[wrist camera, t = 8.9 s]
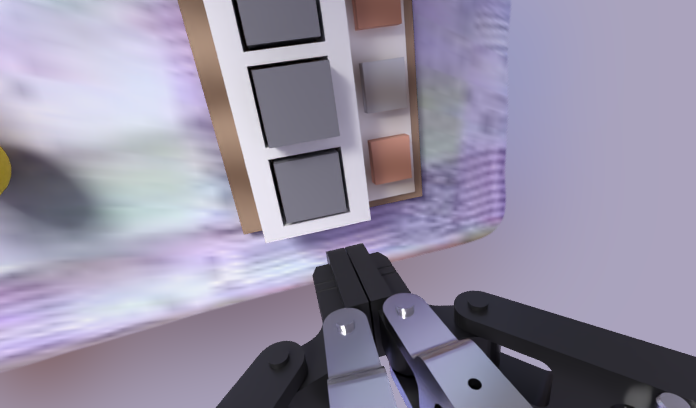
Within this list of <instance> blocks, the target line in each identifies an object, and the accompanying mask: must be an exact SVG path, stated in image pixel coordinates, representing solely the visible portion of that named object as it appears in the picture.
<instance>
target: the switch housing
mask: <svg viewBox="0 0 696 408" xmlns="http://www.w3.org/2000/svg"><path fill="white" fill-rule="evenodd" d="M203 2H204V6H205V10H206V14H207V18H208V21H209V25H210V29H211V33H212V37H213V41H214V45H215V49H216V52H217V56H218V60H219V64H220V68H221V72H222V76H223V79H224V83H225V87H226V91H227V95H228V99H229V103H230V107H231V110H232V114H233V118H234V122H235V126H236V130H237V134H238V138H239V141H240V145H241V149H242V153H243V157H244V161H245V165H246V169H247V172H248V176H249V180H250V184H251V188H252V192H253V196H254V200H255V203H256V207H257V211H258V215H259V219H260V223H261V227H262V231H263V234H264V238H265V242H266V243H269V242H274V241H278V240H283V239H287V238H292V237H296V236H301V235H305V234H310V233H315V232H319V231H324V230H328V229H333V228H337V227H342V226H346V225H351V224H355V223H360V222H364V221H369V220H371V217H370V208H369V200H368V192H367V183H366V175H365V166H364V158H363V150H362V141H361V133H360V124H359V116H358V108H357V99H356V91H355V83H354V74H353V66H352V57H351V49H350V41H349V32H348V24H347V15H346V7H345V0H316V6H317V13H318V20H319V27H320V34H321V36H320V37H319V38H318V39H316V43H309V44H301V45H294V46H286V47H279V48H271V49H263V50H256V51H248V52H246V49H245V45H244V41H243V36H242V32H241V27H240V23H239V19H238V14H237V10H236V5H235V1H234V0H203ZM314 59H319V61H323V60H329V62H330V69H331V76H332V83H333V90H334V97H335V104H336V111H337V118H338V125H339V132H340V136H337V137H331V138H326V139H320V140H314V141H309V142H303V143H297V144H292V145H286V146H281V147H275V148H269V146H268V141H267V138H266V137H265V133H264V129H263V124H262V120H261V115H260V111H259V107H258V102H257V98H256V93H255V89H254V85H253V80H252V76H251V71H250V68H256V67H264V66H271V65H278V64H285V63H292V62H300V61H307V60H314ZM330 148H334V149H335V150H336V151H337V152H338V155H339V162H340V168H341V175H342V182H343V189H344V195H345V202H346V209H347V211H345V212H340V213H335V214H331V215H326V216H321V217H317V218H312V219H307V220H303V221H298V222H293V223H289V224H287V221H286V217H285V213H284V208H283V207H281V203H280V199H279V194H278V190H277V186H276V181H275V177H274V172H273V168H272V164H271V159H275V158H280V157H286V156H291V155H297V154H302V153H308V152H313V151H319V150H324V149H330Z"/></svg>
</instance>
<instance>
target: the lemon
mask: <svg viewBox="0 0 696 408" xmlns="http://www.w3.org/2000/svg"><path fill="white" fill-rule="evenodd" d="M10 178H11V164H10V161H9V158H8V156H7V155H6V153H5V151H4V150H3V149H2V148H1V147H0V195H1V194H2V193H3V191H4V190H5V189H6V188H7V186H8V184H9V181H10Z"/></svg>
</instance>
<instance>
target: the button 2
mask: <svg viewBox="0 0 696 408" xmlns="http://www.w3.org/2000/svg"><path fill="white" fill-rule="evenodd" d="M251 71H252V75H253V80H254V84H255V88H256V93H257V97H258V102H259V106H260V110H261V115H262V119H263V124H264V128H265V133H266V137H267V141H268V146H269V148H275V147H281V146H286V145H292V144H297V143H303V142H309V141H314V140H320V139H326V138H331V137H337V136H340V132H339V125H338V118H337V111H336V104H335V97H334V90H333V83H332V76H331V69H330V62H329V60H323V61H315V62H308V63H301V64H294V65H287V66H280V67H273V68H266V69H258V70H251Z"/></svg>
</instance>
